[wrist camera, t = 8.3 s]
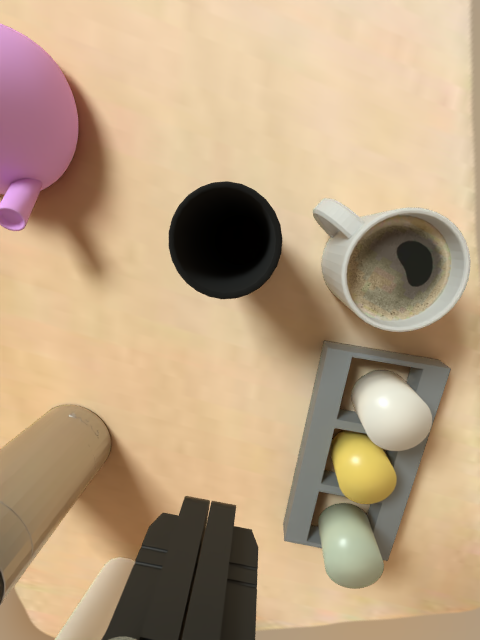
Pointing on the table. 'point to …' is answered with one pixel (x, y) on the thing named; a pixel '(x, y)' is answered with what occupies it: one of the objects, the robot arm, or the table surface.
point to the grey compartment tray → (326, 416)
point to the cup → (225, 240)
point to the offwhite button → (390, 411)
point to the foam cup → (98, 603)
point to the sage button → (349, 546)
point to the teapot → (31, 125)
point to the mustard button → (361, 468)
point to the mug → (393, 264)
